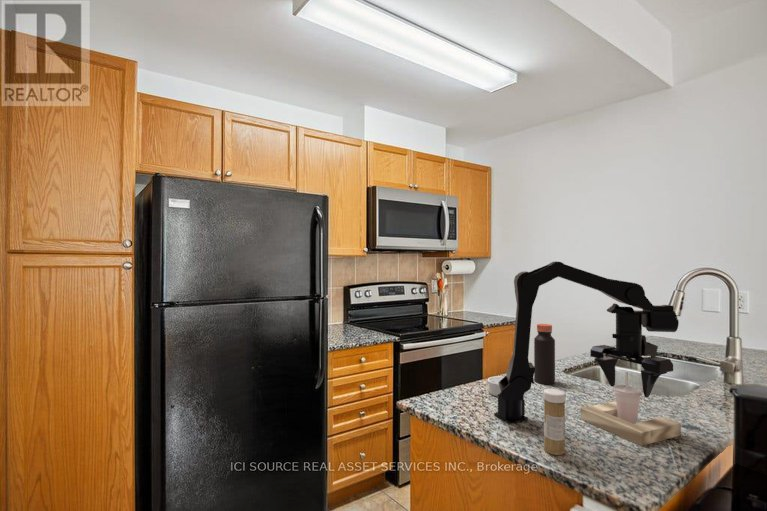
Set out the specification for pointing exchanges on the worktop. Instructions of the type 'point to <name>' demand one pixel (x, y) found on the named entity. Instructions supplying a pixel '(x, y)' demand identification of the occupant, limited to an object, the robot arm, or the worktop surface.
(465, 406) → the worktop surface
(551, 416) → the sprinkles bottle
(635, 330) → the robot arm
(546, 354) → the vinegar
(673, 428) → the slot board
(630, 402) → the smoothie
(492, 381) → the ramekin
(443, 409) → the worktop surface
